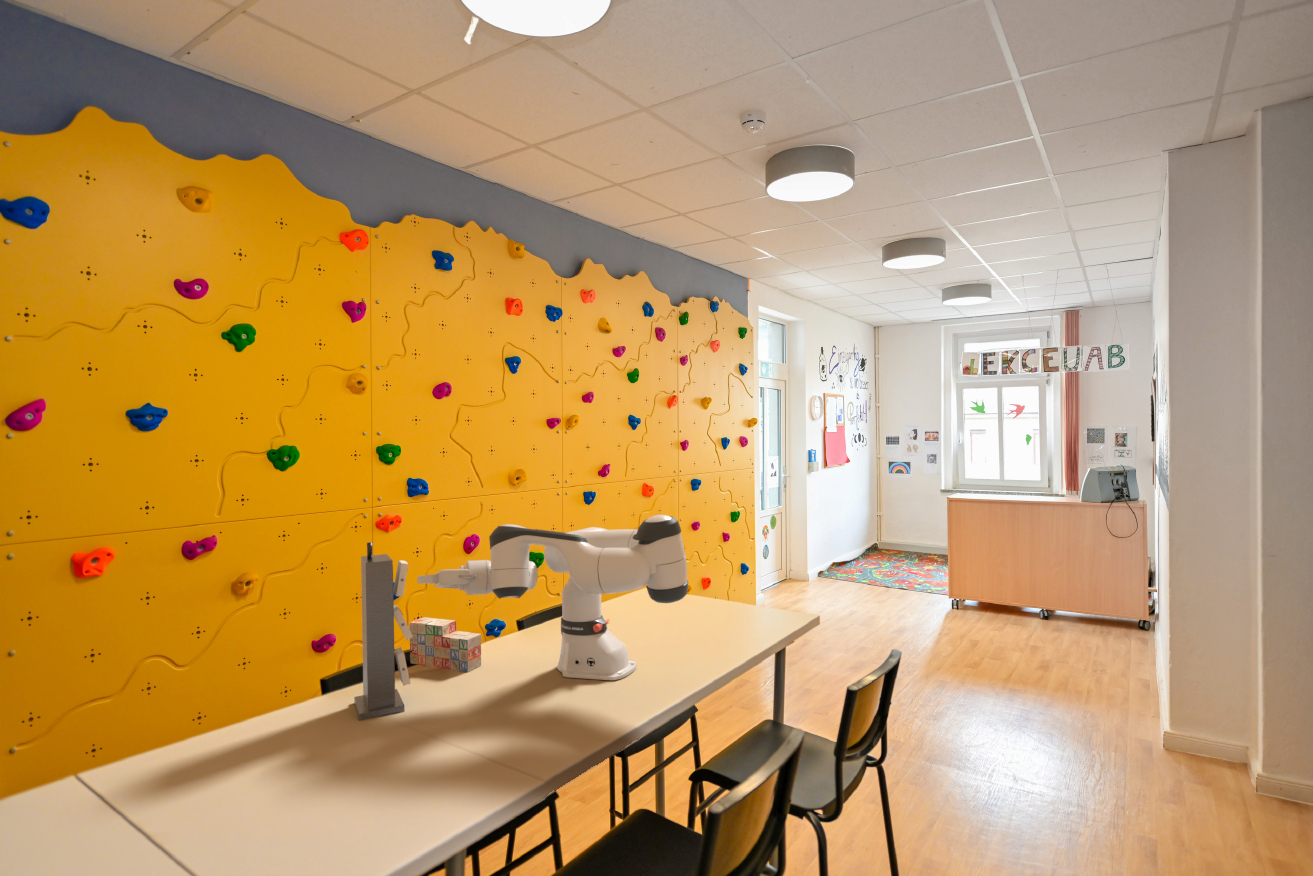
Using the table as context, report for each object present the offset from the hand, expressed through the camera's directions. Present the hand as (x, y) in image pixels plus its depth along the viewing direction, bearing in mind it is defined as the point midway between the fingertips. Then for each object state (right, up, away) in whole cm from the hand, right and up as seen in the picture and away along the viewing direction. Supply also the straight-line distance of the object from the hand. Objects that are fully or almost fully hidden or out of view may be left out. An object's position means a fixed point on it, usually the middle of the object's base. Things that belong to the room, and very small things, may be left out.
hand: (417, 579), depth 170 cm
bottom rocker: (-2, -25, -3) cm, 25 cm away
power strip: (-7, -30, -6) cm, 31 cm away
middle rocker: (-1, -14, -3) cm, 14 cm away
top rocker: (-3, -3, -4) cm, 6 cm away
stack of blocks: (-1, -30, +24) cm, 39 cm away
